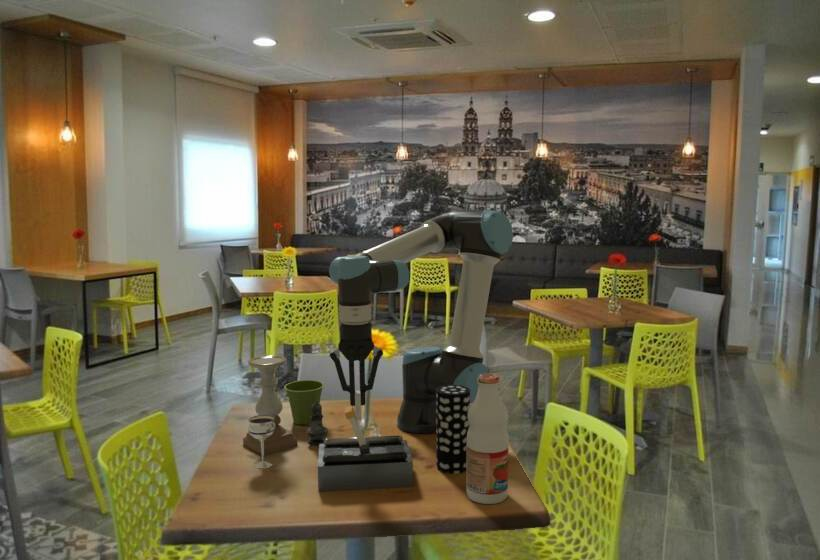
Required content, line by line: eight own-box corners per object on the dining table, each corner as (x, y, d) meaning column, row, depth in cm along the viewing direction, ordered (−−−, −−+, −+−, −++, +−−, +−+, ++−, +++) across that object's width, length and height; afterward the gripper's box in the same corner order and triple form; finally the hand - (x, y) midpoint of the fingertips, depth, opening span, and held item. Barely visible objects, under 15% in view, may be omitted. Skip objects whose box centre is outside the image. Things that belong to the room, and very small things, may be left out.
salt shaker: (302, 444, 183) (301, 401, 182) (314, 437, 188) (313, 395, 187) (319, 447, 180) (318, 404, 179) (332, 440, 186) (331, 398, 184)
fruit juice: (469, 484, 157) (470, 369, 153) (509, 488, 155) (511, 371, 151) (463, 503, 148) (464, 380, 144) (505, 507, 146) (507, 383, 142)
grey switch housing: (406, 462, 170) (406, 433, 169) (412, 486, 156) (412, 454, 155) (319, 466, 168) (319, 436, 167) (318, 491, 154) (317, 459, 153)
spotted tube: (465, 459, 172) (465, 384, 170) (473, 472, 164) (473, 393, 161) (433, 461, 171) (433, 385, 168) (439, 474, 163) (440, 395, 160)
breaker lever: (370, 446, 163) (353, 404, 162) (371, 452, 159) (353, 410, 158) (361, 449, 163) (343, 408, 161) (361, 456, 159) (344, 413, 158)
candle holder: (276, 434, 190) (274, 352, 187) (298, 444, 182) (295, 359, 179) (242, 444, 183) (238, 359, 180) (263, 455, 175) (260, 367, 172)
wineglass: (281, 464, 169) (280, 419, 168) (258, 472, 165) (256, 425, 163) (267, 457, 174) (265, 412, 173) (244, 464, 169) (242, 419, 168)
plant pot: (300, 412, 209) (299, 377, 207) (332, 418, 204) (331, 382, 202) (277, 424, 198) (275, 388, 197) (309, 430, 193) (308, 393, 192)
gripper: (327, 325, 153) (331, 425, 156) (383, 323, 154) (386, 422, 157) (328, 319, 160) (331, 414, 163) (381, 317, 161) (383, 411, 164)
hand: (358, 418), depth 160 cm, fingers closed
